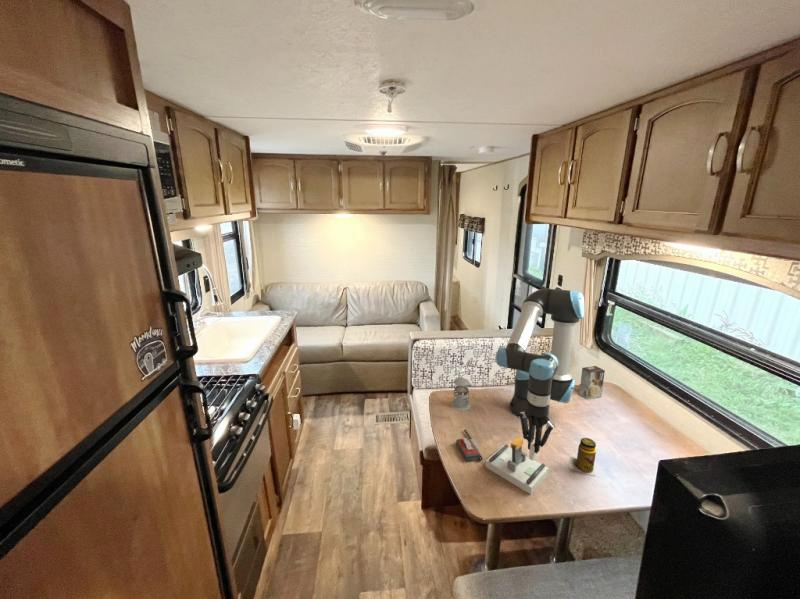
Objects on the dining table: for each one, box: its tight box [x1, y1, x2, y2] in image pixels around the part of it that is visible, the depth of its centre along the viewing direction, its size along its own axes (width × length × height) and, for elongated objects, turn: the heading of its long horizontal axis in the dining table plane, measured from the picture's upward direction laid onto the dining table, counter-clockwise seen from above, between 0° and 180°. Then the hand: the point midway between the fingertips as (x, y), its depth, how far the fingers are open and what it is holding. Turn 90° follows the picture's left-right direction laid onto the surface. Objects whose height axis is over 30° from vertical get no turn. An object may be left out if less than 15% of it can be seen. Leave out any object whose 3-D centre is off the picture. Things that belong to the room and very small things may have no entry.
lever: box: [510, 437, 524, 466], centre depth 132 cm, size 6×2×10 cm, turn 133°
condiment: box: [569, 437, 597, 477], centre depth 134 cm, size 7×8×12 cm
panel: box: [485, 444, 550, 495], centre depth 133 cm, size 14×19×6 cm
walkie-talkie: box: [455, 429, 483, 463], centre depth 147 cm, size 9×4×20 cm
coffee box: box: [579, 365, 606, 400], centre depth 185 cm, size 9×6×16 cm
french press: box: [451, 361, 471, 412], centre depth 177 cm, size 10×12×25 cm
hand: (532, 457), depth 127 cm, fingers closed
